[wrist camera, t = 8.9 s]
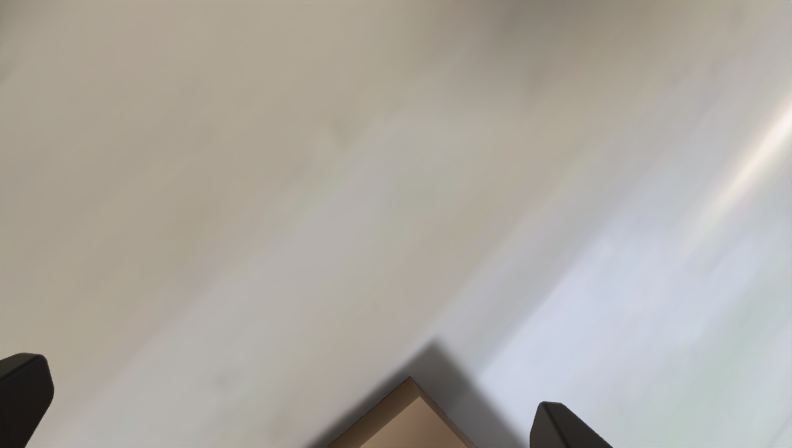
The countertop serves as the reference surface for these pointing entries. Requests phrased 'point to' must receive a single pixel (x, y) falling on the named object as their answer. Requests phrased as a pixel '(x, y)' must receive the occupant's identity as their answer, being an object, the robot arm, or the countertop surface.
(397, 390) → the walnut cutting board
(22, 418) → the robot arm
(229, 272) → the countertop surface
